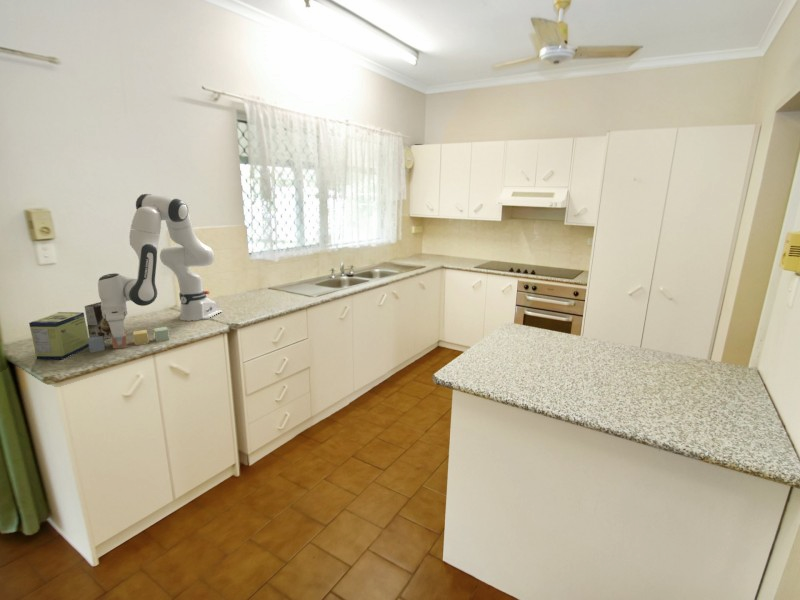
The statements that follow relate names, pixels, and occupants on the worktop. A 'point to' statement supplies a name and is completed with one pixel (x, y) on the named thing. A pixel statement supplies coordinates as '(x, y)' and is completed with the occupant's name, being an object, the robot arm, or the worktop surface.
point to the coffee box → (97, 322)
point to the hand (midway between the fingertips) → (119, 342)
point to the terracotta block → (124, 344)
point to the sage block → (161, 334)
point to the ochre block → (140, 337)
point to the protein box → (59, 335)
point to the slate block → (96, 343)
